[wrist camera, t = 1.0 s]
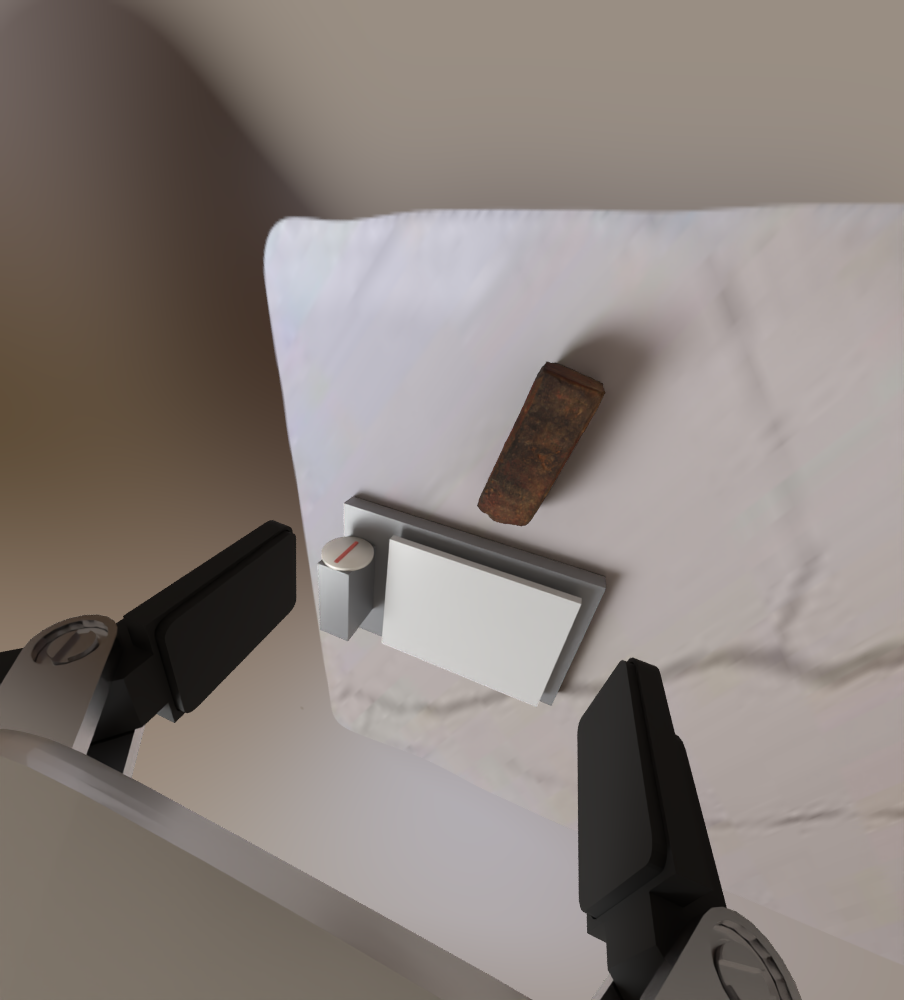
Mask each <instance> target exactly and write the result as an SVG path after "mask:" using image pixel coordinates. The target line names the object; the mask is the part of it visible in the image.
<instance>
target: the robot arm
mask: <svg viewBox="0 0 904 1000" xmlns="http://www.w3.org/2000/svg"><path fill="white" fill-rule="evenodd" d="M295 602H296V536H295V534H293V532H292V529H291V527H289V526H286V525H284V524H281V523H279V522H276V521H273V520H270V521H268V522H266V523H264V524H263V525H261V526H260V527H258V528H257V529H255V530H254V531H252V532H251V533H249V534H248V535H246V536H244V537H243V538H241V539H240V540H238V541H237V542H235V543H234V544H232V545H231V546H229V547H228V548H226V549H225V550H223V551H222V552H220V553H218V554H217V555H215V556H214V557H212V558H211V559H209V560H208V561H206V562H205V563H203V564H202V565H200V566H199V567H197V568H196V569H194V570H193V571H191V572H190V573H188V574H186V575H185V576H183V577H182V578H180V579H179V580H177V581H176V582H174V583H173V584H171V585H170V586H168V587H167V588H165V589H164V590H162V591H161V592H159V593H157V594H156V595H154V596H153V597H151V598H150V599H148V600H147V601H145V602H144V603H142V604H141V605H139V606H138V607H136V608H135V609H133V610H132V611H130V612H128V613H127V614H126V615H124V616H123V617H124V618H123V619H122V620H120V621H119V622H118V623H115V621H114V620H112V619H111V618H109V617H107V616H102V615H82V616H78V617H73V618H69V619H66V620H63V621H61V622H58V623H56V624H54V625H52V626H50V627H48V628H46V629H44V630H42V631H41V632H40V633H38V634H37V635H36V636H34V637H33V638H32V639H30V641H29V642H28V643H27V644H26V646H25V647H24V648H21V649H16V650H10V651H5V652H0V1000H532V999H530V998H528V997H526V996H524V995H523V994H521V993H519V992H518V991H516V990H514V989H513V988H511V987H509V986H508V985H506V984H504V983H502V982H500V981H499V980H497V979H495V978H494V977H492V976H490V975H489V974H487V973H485V972H483V971H481V970H479V969H478V968H476V967H474V966H472V965H471V964H469V963H467V962H465V961H463V960H462V959H460V958H458V957H456V956H454V955H453V954H451V953H449V952H447V951H445V950H443V949H442V948H440V947H438V946H436V945H435V944H433V943H431V942H429V941H428V940H426V939H424V938H422V937H420V936H419V935H417V934H415V933H413V932H411V931H409V930H408V929H406V928H404V927H402V926H401V925H399V924H397V923H395V922H393V921H392V920H390V919H388V918H386V917H384V916H382V915H381V914H379V913H377V912H375V911H374V910H372V909H370V908H368V907H366V906H365V905H363V904H361V903H359V902H357V901H355V900H354V899H352V898H350V897H348V896H346V895H345V894H343V893H341V892H339V891H337V890H336V889H334V888H332V887H330V886H328V885H326V884H325V883H323V882H321V881H319V880H317V879H316V878H314V877H312V876H310V875H308V874H307V873H305V872H303V871H301V870H299V869H297V868H296V867H294V866H292V865H290V864H288V863H287V862H285V861H283V860H281V859H279V858H277V857H276V856H274V855H272V854H270V853H268V852H266V851H265V850H263V849H261V848H259V847H257V846H255V845H254V844H252V843H250V842H248V841H247V840H245V839H243V838H241V837H239V836H237V835H236V834H234V833H232V832H230V831H228V830H226V829H225V828H223V827H221V826H219V825H217V824H215V823H214V822H212V821H210V820H208V819H206V818H204V817H202V816H201V815H199V814H197V813H195V812H193V811H191V810H190V809H188V808H186V807H184V806H182V805H180V804H179V803H177V802H175V801H173V800H171V799H169V798H167V797H165V796H164V795H162V794H160V793H158V792H156V791H155V790H153V789H151V788H149V787H147V786H145V785H143V784H142V783H140V782H138V781H136V780H134V779H132V778H131V777H132V774H133V770H134V766H135V762H136V758H137V754H138V750H139V746H140V743H141V739H142V735H143V731H144V727H145V724H146V723H147V722H148V721H149V720H150V719H151V718H153V717H154V716H155V715H156V714H158V715H160V716H162V717H164V718H166V719H168V720H170V721H172V722H174V723H175V722H176V721H177V720H178V719H179V718H180V717H181V716H182V715H183V714H184V713H189V712H192V711H193V710H194V709H196V708H197V707H198V706H199V705H200V704H201V703H202V702H203V701H204V700H205V699H206V698H207V697H208V695H210V694H211V693H212V691H214V689H215V688H216V687H217V686H218V685H219V684H220V683H221V682H222V681H223V680H224V679H225V678H226V677H227V676H228V675H229V674H230V673H231V672H232V671H233V670H234V669H235V668H236V667H237V666H238V665H239V664H240V663H241V662H242V661H243V660H244V659H245V658H246V657H247V656H248V655H249V653H250V652H252V650H253V649H254V648H255V647H256V646H257V645H258V644H259V643H260V642H261V641H262V640H263V639H264V638H265V637H266V636H267V635H268V634H269V633H270V632H271V631H272V630H273V629H274V628H275V627H276V626H277V624H279V623H280V622H281V621H282V620H283V619H284V618H285V617H286V615H288V614H289V613H290V611H291V610H292V609H293V607H294V605H295ZM577 739H578V852H579V853H578V858H579V903H580V907H581V910H582V911H583V912H585V913H587V933H588V934H590V935H592V936H594V937H596V938H598V939H600V940H602V941H604V942H606V944H607V964H608V971H609V975H608V976H607V978H606V979H605V980H604V982H603V983H602V985H601V986H600V988H599V989H598V991H597V992H596V994H595V995H594V996H593V998H592V999H591V1000H802V999H801V996H800V994H799V991H798V989H797V986H796V984H795V981H794V980H793V978H792V976H791V974H790V972H789V971H788V969H787V967H786V965H785V964H784V962H783V960H782V958H781V957H780V955H779V954H778V953H777V951H776V950H775V949H774V947H773V946H772V944H771V943H770V942H769V940H768V939H767V938H766V937H765V936H764V935H763V934H762V933H761V932H760V931H759V930H758V929H757V928H756V927H755V925H754V924H752V923H751V922H750V921H749V920H747V919H746V918H745V917H743V916H742V915H740V914H739V913H737V912H736V911H733V910H730V909H727V907H726V903H725V899H724V895H723V892H722V888H721V884H720V880H719V876H718V872H717V869H716V865H715V861H714V857H713V853H712V849H711V845H710V842H709V838H708V834H707V830H706V826H705V822H704V819H703V815H702V811H701V807H700V803H699V799H698V795H697V792H696V788H695V784H694V780H693V776H692V772H691V768H690V765H689V761H688V757H687V753H686V750H685V747H684V744H683V742H682V740H681V739H680V738H679V736H677V735H675V732H674V728H673V724H672V720H671V716H670V711H669V707H668V703H667V699H666V695H665V691H664V687H663V683H662V679H661V675H660V671H659V669H658V668H657V667H656V666H654V665H651V664H648V663H646V662H643V661H640V660H638V659H635V658H630V659H629V660H628V661H627V662H626V661H624V660H622V661H620V662H619V664H618V665H617V667H616V668H615V670H614V671H613V672H612V674H611V675H610V677H609V678H608V680H607V681H606V683H605V684H604V686H603V687H602V688H601V690H600V691H599V693H598V694H597V696H596V697H595V699H594V700H593V702H592V703H591V704H590V706H589V707H588V709H587V710H586V712H585V713H584V715H583V716H582V718H581V719H580V722H579V726H578V733H577Z"/></svg>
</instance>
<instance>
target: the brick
mask: <svg viewBox="0 0 904 1000" xmlns="http://www.w3.org/2000/svg"><path fill="white" fill-rule="evenodd" d="M604 394H605V391H604V388H603V383H601V382H599V381H596V380H594V379H592V378H590V377H588V376H585V375H583V374H581V373H579V372H577V371H574V370H572V369H570V368H567V367H565V366H563V365H560V364H558V363H550V362H546V364H545V365H544V366H543V367H542V368H541V370H540V372H539V373H538V375H537V377H536V379H535V381H534V383H533V385H532V388H531V390H530V392H529V394H528V396H527V399H526V401H525V403H524V405H523V407H522V410H521V412H520V414H519V416H518V418H517V420H516V422H515V424H514V426H513V429H512V431H511V432H510V435H509V437H508V439H507V441H506V442H505V444H504V447H503V449H502V451H501V453H500V456H499V458H498V460H497V462H496V464H495V466H494V468H493V471H492V473H491V475H490V477H489V479H488V482H487V483H486V485H485V488H484V490H483V492H482V494H481V496H480V498H479V502H478V505H477V506H478V507H479V509H480V510H481V511H482V512H483V513H486V514H488V515H489V517H490V518H491V519H492V520H493V521H496V522H499V523H503V524H512V525H517V526H518V525H519V526H526V525H527V524H528V523H529V522H530V521H531V519H532V518H533V516H534V515H535V513H536V512H537V510H538V509H539V507H540V505H541V503H542V502H543V500H544V499H545V497H546V496H547V494H548V492H549V491H550V489H551V487H552V485H553V484H554V482H555V480H556V478H557V477H558V475H559V473H560V472H561V470H562V469H563V467H564V465H565V463H566V462H567V460H568V458H569V457H570V455H571V453H572V451H573V449H574V448H575V446H576V444H577V443H578V441H579V439H580V437H581V435H582V433H583V432H584V431H585V429H586V428H587V426H588V424H589V422H590V420H591V419H592V417H593V415H594V414H595V412H596V410H597V408H598V406H599V404H600V402H601V400H602V398H603V396H604Z"/></svg>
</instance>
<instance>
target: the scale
mask: <svg viewBox="0 0 904 1000" xmlns="http://www.w3.org/2000/svg"><path fill="white" fill-rule="evenodd" d="M321 554H322V560H321V561H320V562H319V563H318V586H319V611H320V630H322V631H325V632H327V633H329V634H332V635H334V636H336V637H339V638H341V639H344V640H346V641H349V639H350V638H351V637H352V635H353V634H354V633H355V631H356V630H357V629H358V627H360V628H362V629H364V630H367V631H369V632H372V633H374V634H377V635H379V636H382V644H384V645H387V646H389V647H392V648H394V649H397V650H399V651H401V652H404V653H406V654H409V655H411V656H414V657H416V658H418V659H421V660H423V661H426V662H428V663H431V664H433V665H435V666H438V667H440V668H443V669H445V670H447V671H450V672H452V673H455V674H457V675H460V676H462V677H464V678H467V679H469V680H472V681H474V682H477V683H479V684H481V685H484V686H486V687H489V688H491V689H493V690H496V691H498V692H501V693H503V694H506V695H508V696H510V697H513V698H515V699H518V700H520V701H523V702H525V703H527V704H530V705H532V706H535V707H537V705H538V703H539V701H541V702H543V703H546V704H548V705H552V703H553V701H554V699H555V697H556V695H557V693H558V690H559V688H560V686H561V684H562V682H563V680H564V678H565V675H566V673H567V671H568V669H569V667H570V665H571V662H572V660H573V658H574V656H575V654H576V652H577V650H578V647H579V645H580V643H581V641H582V639H583V637H584V635H585V632H586V630H587V628H588V626H589V624H590V622H591V619H592V617H593V615H594V613H595V611H596V609H597V607H598V604H599V602H600V600H601V598H602V596H603V594H604V592H605V589H606V581H605V577H604V576H601V575H598V574H595V573H592V572H589V571H586V570H582V569H579V568H576V567H573V566H570V565H567V564H564V563H560V562H557V561H554V560H551V559H548V558H545V557H542V556H538V555H535V554H532V553H529V552H526V551H523V550H520V549H516V548H513V547H510V546H507V545H504V544H501V543H498V542H494V541H491V540H488V539H485V538H482V537H479V536H476V535H472V534H469V533H466V532H463V531H460V530H457V529H454V528H450V527H447V526H444V525H441V524H438V523H435V522H432V521H428V520H425V519H422V518H419V517H416V516H413V515H410V514H407V513H403V512H400V511H397V510H394V509H391V508H388V507H385V506H381V505H378V504H375V503H372V502H369V501H366V500H363V499H359V498H356V497H352V498H350V499H349V500H347V501H346V502H345V503H344V537H340V538H336V539H333V540H331V541H329V542H328V543H327V544H326V545H325V546H324V547H323V549H322V553H321Z"/></svg>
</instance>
